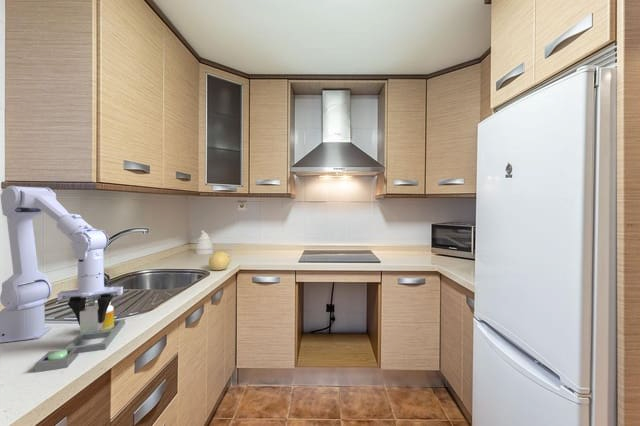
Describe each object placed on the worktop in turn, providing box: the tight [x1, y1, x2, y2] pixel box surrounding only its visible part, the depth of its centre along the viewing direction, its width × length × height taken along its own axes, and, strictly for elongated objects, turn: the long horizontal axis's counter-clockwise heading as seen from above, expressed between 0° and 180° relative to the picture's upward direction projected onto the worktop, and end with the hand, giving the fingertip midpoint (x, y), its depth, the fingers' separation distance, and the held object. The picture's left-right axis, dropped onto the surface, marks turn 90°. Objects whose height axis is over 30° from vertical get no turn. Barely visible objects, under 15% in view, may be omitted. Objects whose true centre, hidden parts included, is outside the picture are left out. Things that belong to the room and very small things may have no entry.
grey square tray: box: [34, 348, 79, 373], centre depth 72 cm, size 6×6×2 cm
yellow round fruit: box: [208, 251, 232, 271], centre depth 177 cm, size 12×12×11 cm
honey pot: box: [195, 230, 214, 255], centre depth 238 cm, size 13×13×18 cm
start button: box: [48, 348, 67, 360], centre depth 72 cm, size 4×4×2 cm
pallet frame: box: [64, 318, 126, 354], centre depth 86 cm, size 9×18×2 cm, turn 20°
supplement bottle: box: [91, 299, 115, 333], centre depth 90 cm, size 5×5×10 cm
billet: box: [79, 305, 103, 335], centre depth 82 cm, size 4×4×6 cm
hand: (92, 322), depth 82 cm, fingers closed on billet, 4 cm apart
